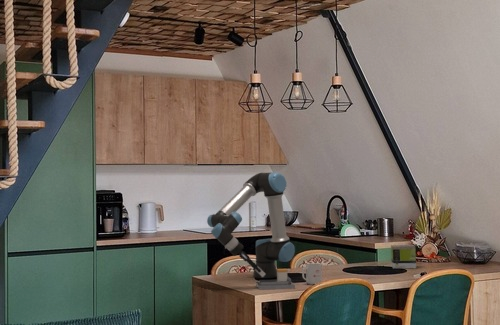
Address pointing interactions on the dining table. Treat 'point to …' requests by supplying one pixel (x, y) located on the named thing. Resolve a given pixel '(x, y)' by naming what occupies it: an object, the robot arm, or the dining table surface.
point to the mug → (312, 273)
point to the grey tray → (275, 284)
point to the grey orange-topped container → (281, 275)
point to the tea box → (403, 256)
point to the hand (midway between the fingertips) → (264, 275)
